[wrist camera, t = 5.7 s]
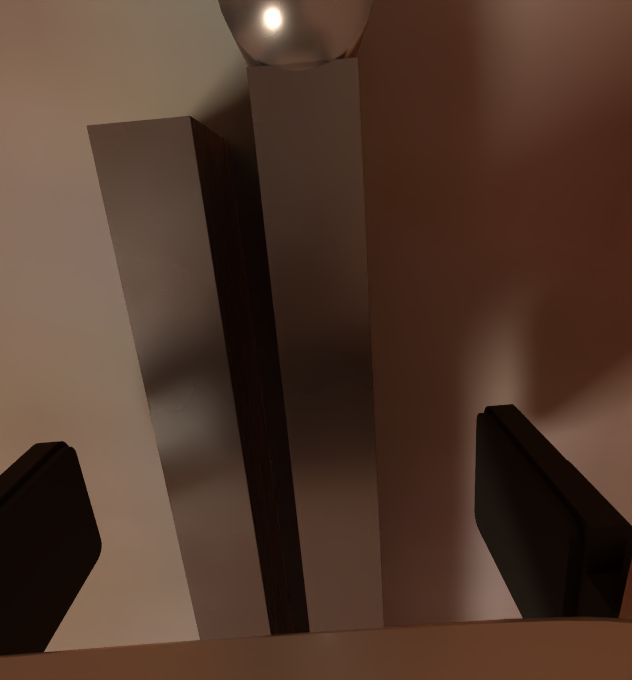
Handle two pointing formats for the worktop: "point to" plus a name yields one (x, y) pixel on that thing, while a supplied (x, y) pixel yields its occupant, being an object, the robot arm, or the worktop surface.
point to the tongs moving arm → (319, 286)
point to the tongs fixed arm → (198, 363)
